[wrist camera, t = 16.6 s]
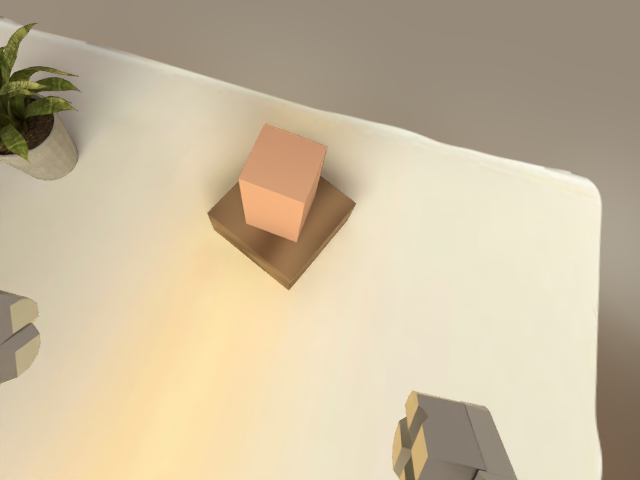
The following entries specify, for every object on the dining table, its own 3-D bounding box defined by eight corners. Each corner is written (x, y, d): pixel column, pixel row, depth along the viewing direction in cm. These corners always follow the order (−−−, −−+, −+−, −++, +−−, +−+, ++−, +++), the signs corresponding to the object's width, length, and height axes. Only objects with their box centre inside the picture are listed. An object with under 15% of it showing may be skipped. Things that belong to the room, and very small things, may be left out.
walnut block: (214, 231, 40) (207, 213, 36) (276, 167, 43) (277, 143, 39) (288, 291, 39) (291, 280, 35) (346, 221, 42) (356, 203, 38)
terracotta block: (246, 223, 36) (238, 178, 27) (266, 178, 37) (264, 123, 29) (296, 242, 36) (304, 203, 27) (314, 196, 37) (327, 146, 29)
